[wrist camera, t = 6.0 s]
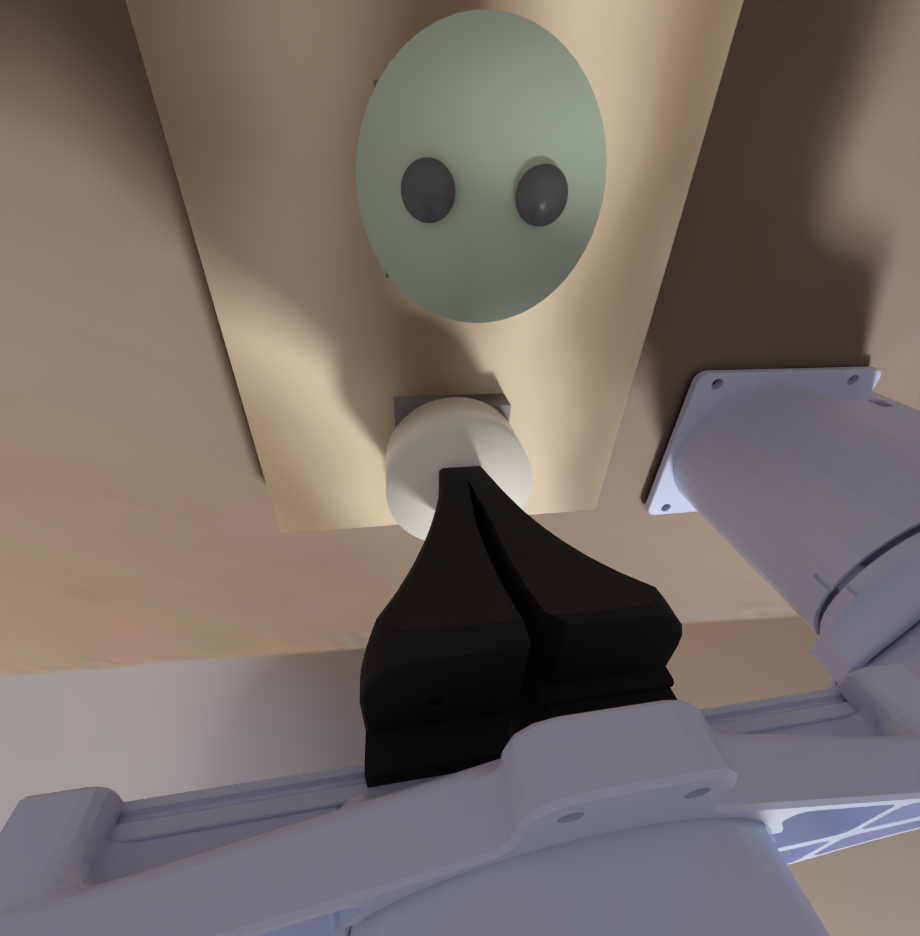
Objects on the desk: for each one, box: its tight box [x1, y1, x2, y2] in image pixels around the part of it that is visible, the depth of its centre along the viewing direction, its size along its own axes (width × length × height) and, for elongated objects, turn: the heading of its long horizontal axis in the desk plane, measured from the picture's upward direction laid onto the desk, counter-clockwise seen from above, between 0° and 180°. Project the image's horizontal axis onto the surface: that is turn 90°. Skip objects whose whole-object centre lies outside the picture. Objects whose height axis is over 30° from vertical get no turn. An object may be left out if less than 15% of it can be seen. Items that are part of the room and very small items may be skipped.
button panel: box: [125, 0, 744, 533], centre depth 12 cm, size 14×24×3 cm, turn 178°
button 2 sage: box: [356, 9, 607, 323], centre depth 8 cm, size 5×5×2 cm
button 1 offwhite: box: [386, 397, 533, 540], centre depth 14 cm, size 5×5×2 cm
